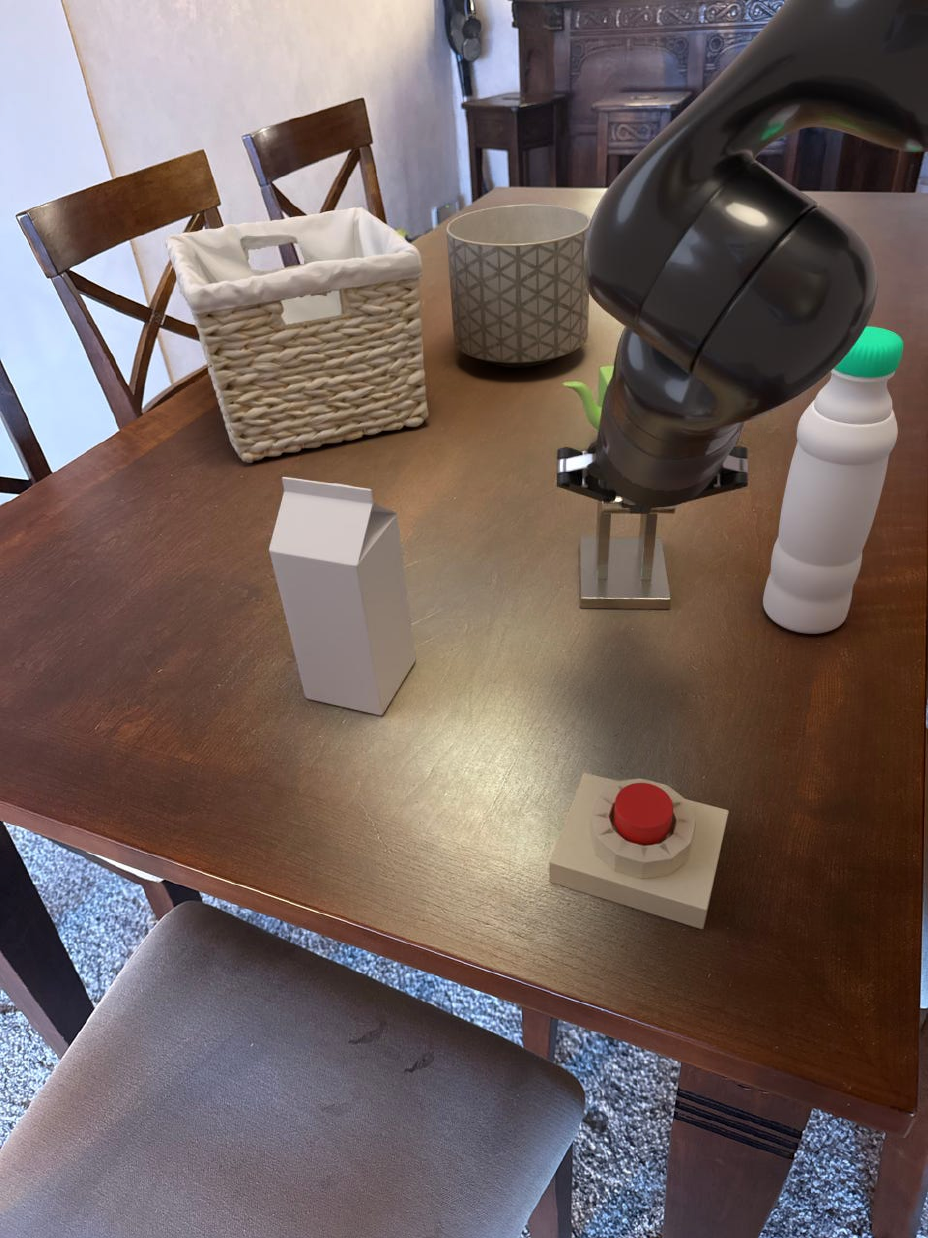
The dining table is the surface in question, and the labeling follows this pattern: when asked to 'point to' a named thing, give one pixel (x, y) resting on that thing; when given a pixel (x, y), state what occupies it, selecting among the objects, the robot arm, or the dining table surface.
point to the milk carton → (343, 593)
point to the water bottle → (834, 488)
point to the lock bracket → (623, 568)
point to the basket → (307, 329)
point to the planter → (518, 283)
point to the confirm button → (643, 813)
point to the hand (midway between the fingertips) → (638, 500)
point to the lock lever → (616, 508)
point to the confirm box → (640, 854)
